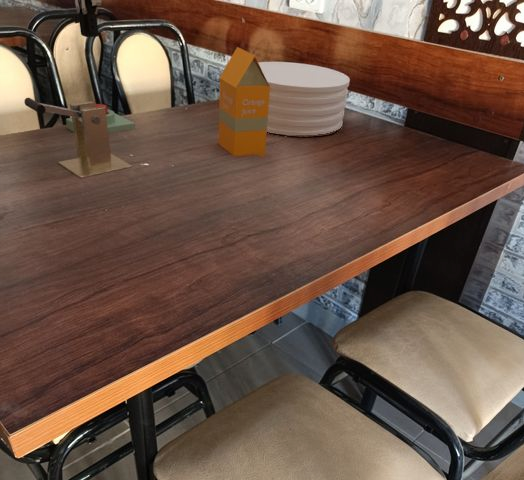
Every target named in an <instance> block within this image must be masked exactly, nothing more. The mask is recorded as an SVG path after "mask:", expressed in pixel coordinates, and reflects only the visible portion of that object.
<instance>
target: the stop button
mask: <svg viewBox="0 0 524 480" xmlns="http://www.w3.org/2000/svg"><path fill="white" fill-rule="evenodd" d="M94 104H95V107H105V110H106V115H107V114H108V112H107V109H108V106H107V105H106V104H103V103H94Z"/></svg>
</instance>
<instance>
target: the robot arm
mask: <svg viewBox="0 0 524 480" xmlns="http://www.w3.org/2000/svg"><path fill="white" fill-rule="evenodd" d="M73 1H74V3H75V8H76V12H77V15H78V21H79V30H80V31H79V32H80V35H81V37H82V36H83V37H86V38H94V37H96V38H97V37H99V35H100V34H99V24H98V17H97V16H98V7H99V6H102V1H103V0H73Z"/></svg>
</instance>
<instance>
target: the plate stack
mask: <svg viewBox="0 0 524 480" xmlns="http://www.w3.org/2000/svg"><path fill="white" fill-rule="evenodd" d="M257 62H258V64H259V66H260V68H261V70H262V72H263V74H264V76H265V78H266V80H267V82H268V84H269V85H270V94H269V107H268V123H267V132H270V133H276V134H286V135H318V134H326V133H330V132H333V131H336V130H338V129H340V128H341V127H342V128H343V123H344V121H343V120H344V117H345V109H346V105H347V100H346V99H347V98H348V93H349V90H348V88H349V86H350V81H351V79H350V77H349V76H348V75H347V74H345V73H343V72H341V71H339V70H335V69H333V68H332V69H331V68H330V67H329V68H328V67H324V66H319V65H315V64H307V63H300V62H288V61H260V62H259V61H257ZM342 128H341V129H342Z"/></svg>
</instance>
